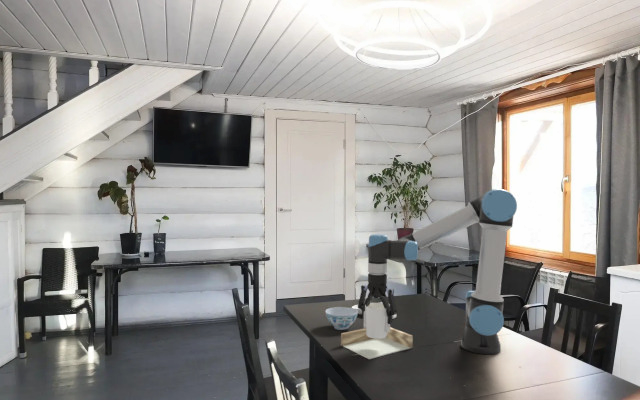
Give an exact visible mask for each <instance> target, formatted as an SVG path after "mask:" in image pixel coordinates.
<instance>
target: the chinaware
mask: <svg viewBox="0 0 640 400" xmlns="http://www.w3.org/2000/svg"><path fill="white" fill-rule="evenodd" d="M324 313H325V316H326V318H327V320H328V322H329V323H330V324H331V325H332V326H333V327H334V329H335V330H339V331H343V330H345V331H346V330H348V329H349V327H350V326H351V325H353V323H355V321H356V319H357V317H358V314H357V313H358V311H357V310H355V309H352V307H345V306H335V307H330V308H327V309H325V312H324Z"/></svg>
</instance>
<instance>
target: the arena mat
mask: <svg viewBox="0 0 640 400" xmlns="http://www.w3.org/2000/svg"><path fill="white" fill-rule="evenodd" d="M342 347H343V348H345V349H348V350H350V351H351V352H353V353H356V354H357V355H359V356H361V357H364V358H366V359H368V360H372V359H375V358H378V357H383V356H388V355H391V354H394V353H398V352H402V351H406V350H409V349H413V347H407V346H405V345H402V344H400V343H397V342H395V341H392V340H390V339H388V338H382V339H375V338H374V339H370V340H365V341H361V342H357V343H353V344H348V345H344V346H342Z"/></svg>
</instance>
